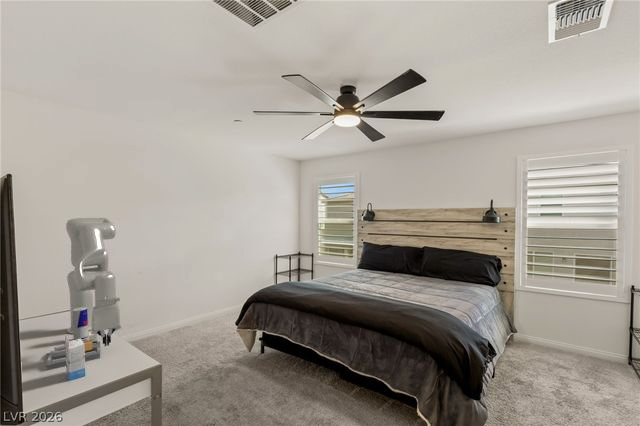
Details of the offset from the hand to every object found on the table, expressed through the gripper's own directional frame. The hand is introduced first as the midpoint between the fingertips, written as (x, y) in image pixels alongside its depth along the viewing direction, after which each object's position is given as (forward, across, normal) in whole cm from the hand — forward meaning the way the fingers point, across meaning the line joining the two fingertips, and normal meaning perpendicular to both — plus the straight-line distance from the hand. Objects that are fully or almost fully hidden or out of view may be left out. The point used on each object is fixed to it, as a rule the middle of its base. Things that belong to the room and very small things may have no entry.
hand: (106, 344), depth 137 cm
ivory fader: (+1, +5, -10) cm, 11 cm away
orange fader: (+1, +6, 0) cm, 7 cm away
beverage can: (+3, +10, -25) cm, 27 cm away
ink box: (+4, +10, +16) cm, 19 cm away
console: (+3, +11, -5) cm, 12 cm away
